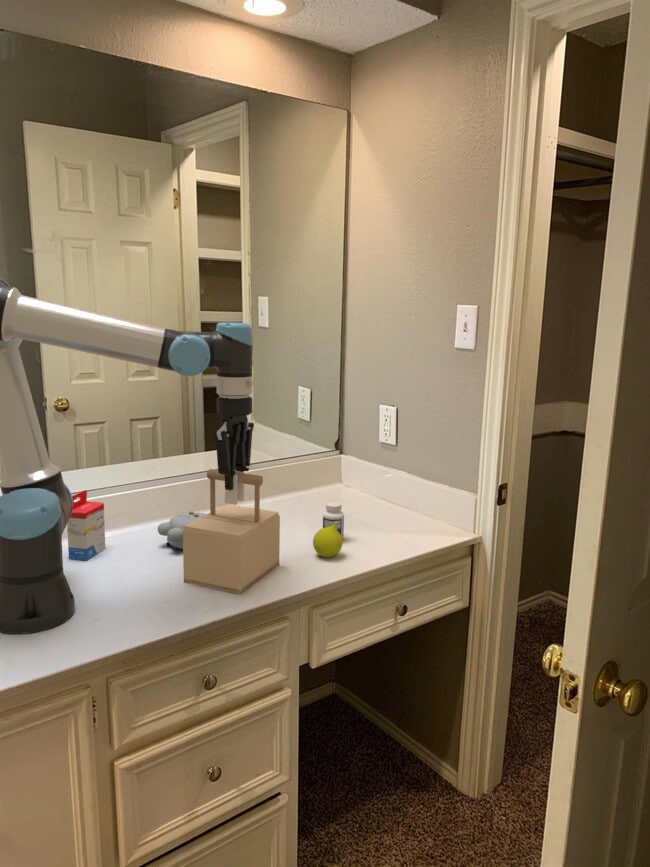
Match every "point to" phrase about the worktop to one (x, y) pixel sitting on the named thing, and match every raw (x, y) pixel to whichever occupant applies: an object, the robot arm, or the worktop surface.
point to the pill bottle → (334, 517)
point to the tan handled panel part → (239, 511)
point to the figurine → (177, 529)
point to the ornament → (328, 541)
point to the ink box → (86, 528)
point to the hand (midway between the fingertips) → (234, 501)
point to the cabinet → (229, 552)
